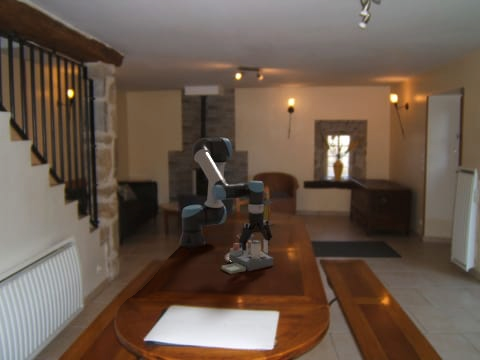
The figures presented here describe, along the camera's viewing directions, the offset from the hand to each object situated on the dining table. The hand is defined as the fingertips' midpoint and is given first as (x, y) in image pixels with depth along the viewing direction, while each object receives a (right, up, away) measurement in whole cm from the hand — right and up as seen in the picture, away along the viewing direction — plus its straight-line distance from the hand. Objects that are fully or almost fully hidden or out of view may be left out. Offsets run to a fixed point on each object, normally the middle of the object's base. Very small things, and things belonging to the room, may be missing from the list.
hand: (255, 254), depth 208 cm
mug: (-5, -4, +21) cm, 22 cm away
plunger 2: (-3, +1, +10) cm, 11 cm away
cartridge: (0, -6, +1) cm, 6 cm away
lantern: (+7, +5, +91) cm, 91 cm away
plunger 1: (-10, 0, +6) cm, 12 cm away
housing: (-3, -5, +4) cm, 7 cm away
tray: (-11, -7, -6) cm, 14 cm away
